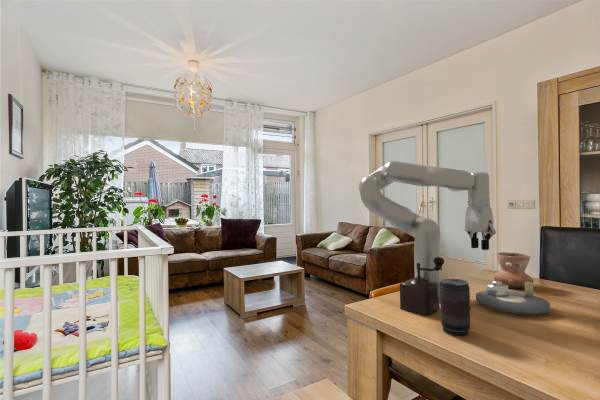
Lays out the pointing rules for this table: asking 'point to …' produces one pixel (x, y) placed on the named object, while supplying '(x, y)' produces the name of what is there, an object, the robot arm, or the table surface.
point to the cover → (497, 289)
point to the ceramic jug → (513, 269)
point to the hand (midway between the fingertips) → (480, 248)
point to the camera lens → (455, 306)
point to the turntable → (515, 301)
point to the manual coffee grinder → (421, 292)
